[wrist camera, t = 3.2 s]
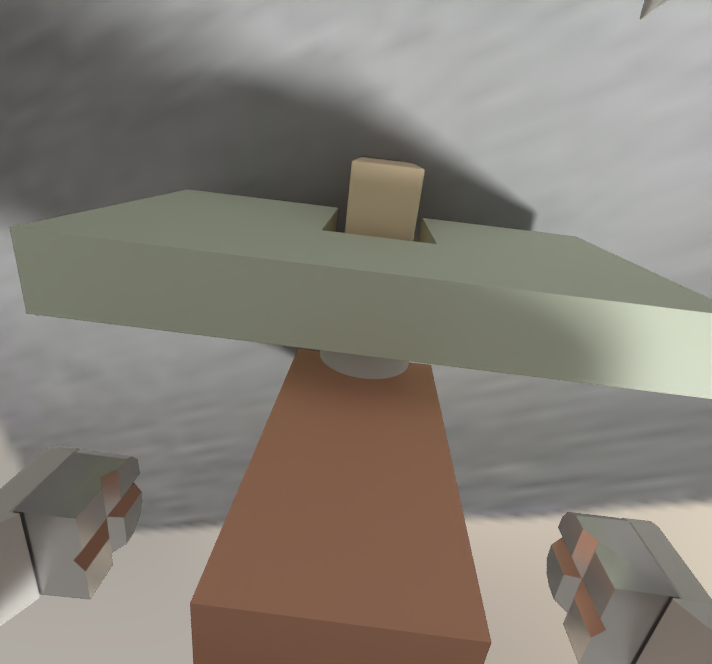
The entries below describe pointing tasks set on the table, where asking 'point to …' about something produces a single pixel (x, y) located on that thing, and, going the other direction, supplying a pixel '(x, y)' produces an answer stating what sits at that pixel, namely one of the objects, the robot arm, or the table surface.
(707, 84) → the table surface
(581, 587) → the robot arm
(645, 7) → the soldier figure
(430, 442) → the t-shaped crossbar
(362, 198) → the tan wooden block
